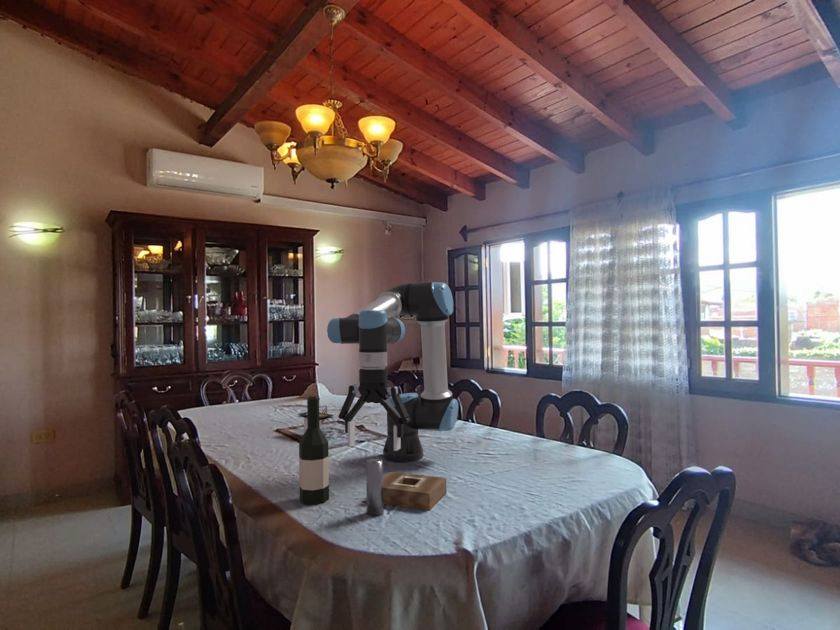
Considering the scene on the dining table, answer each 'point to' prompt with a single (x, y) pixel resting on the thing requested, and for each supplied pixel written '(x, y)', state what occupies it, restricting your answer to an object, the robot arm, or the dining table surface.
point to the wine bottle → (313, 459)
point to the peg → (374, 487)
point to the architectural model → (321, 418)
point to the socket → (413, 490)
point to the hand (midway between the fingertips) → (373, 447)
